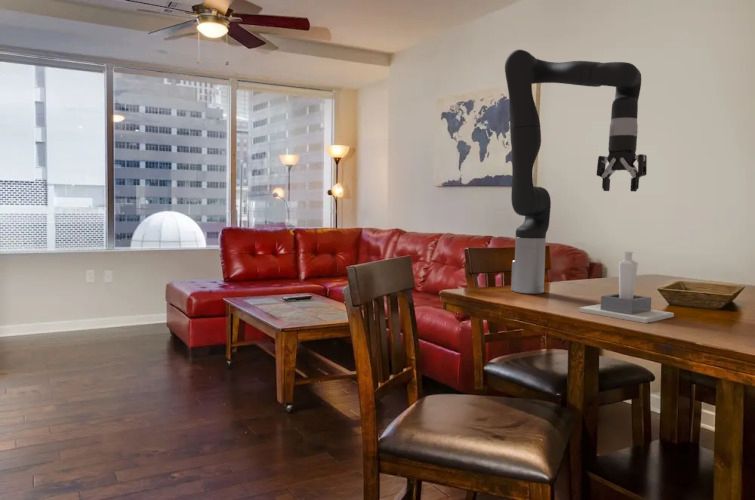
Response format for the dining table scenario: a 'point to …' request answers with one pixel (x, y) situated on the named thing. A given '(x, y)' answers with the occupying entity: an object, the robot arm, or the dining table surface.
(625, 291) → the perfume bottle
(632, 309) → the socket collar
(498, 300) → the dining table surface
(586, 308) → the stand board
